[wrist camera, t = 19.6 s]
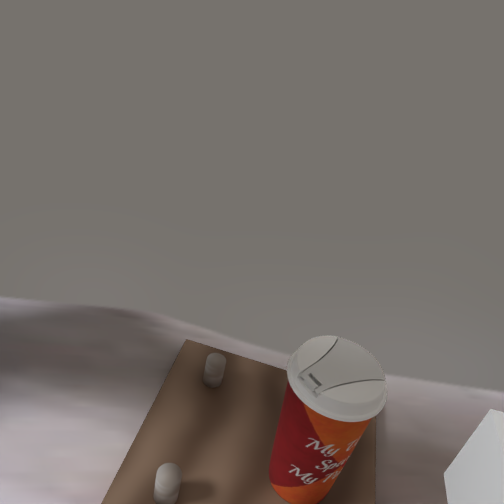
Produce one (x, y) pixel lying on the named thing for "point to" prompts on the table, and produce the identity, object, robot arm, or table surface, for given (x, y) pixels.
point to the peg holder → (222, 438)
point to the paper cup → (323, 415)
